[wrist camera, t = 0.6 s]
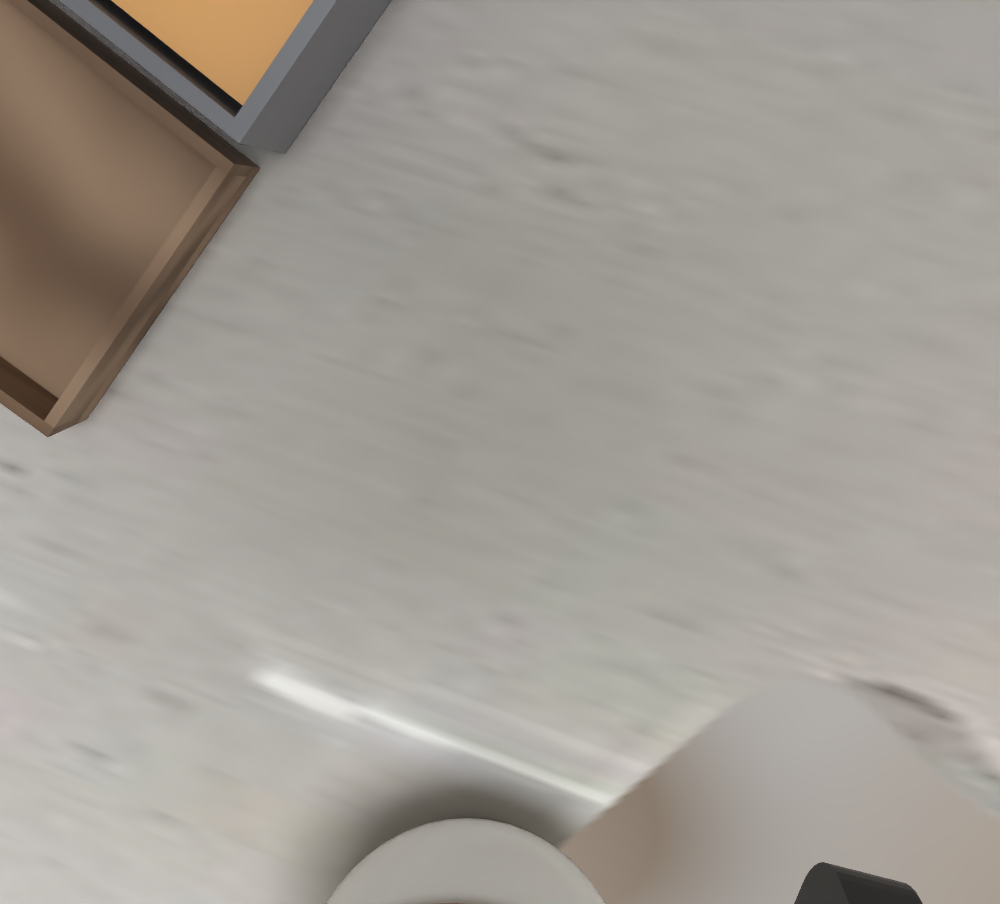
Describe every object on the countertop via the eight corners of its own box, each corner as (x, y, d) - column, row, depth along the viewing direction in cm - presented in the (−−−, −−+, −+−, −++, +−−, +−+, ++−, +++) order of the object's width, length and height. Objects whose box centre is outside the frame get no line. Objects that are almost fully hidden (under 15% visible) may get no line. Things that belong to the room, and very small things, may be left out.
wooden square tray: (-23, -57, 30) (-77, -82, 28) (260, 167, 32) (234, 163, 29) (-183, 222, 33) (-247, 223, 30) (86, 419, 34) (47, 437, 32)
